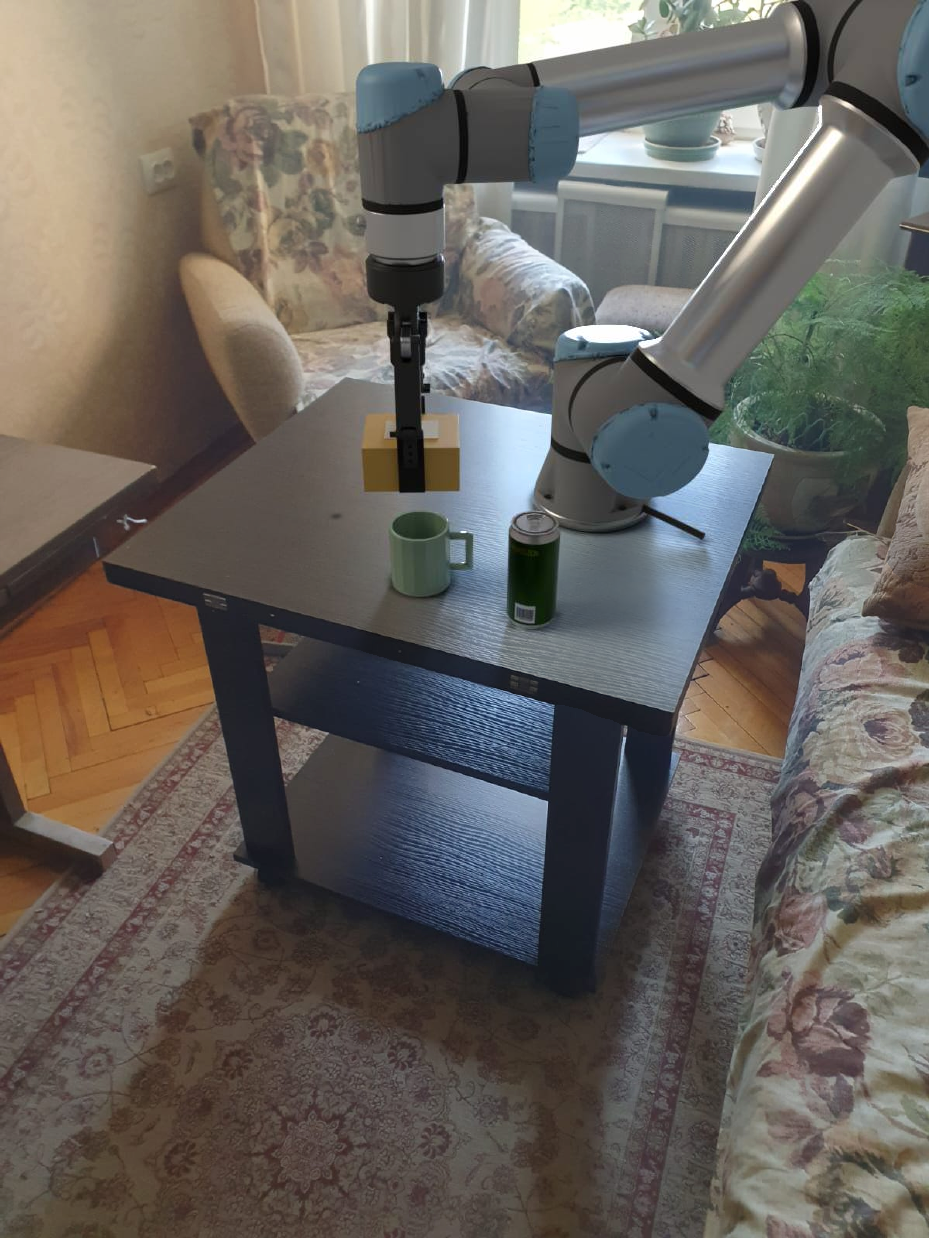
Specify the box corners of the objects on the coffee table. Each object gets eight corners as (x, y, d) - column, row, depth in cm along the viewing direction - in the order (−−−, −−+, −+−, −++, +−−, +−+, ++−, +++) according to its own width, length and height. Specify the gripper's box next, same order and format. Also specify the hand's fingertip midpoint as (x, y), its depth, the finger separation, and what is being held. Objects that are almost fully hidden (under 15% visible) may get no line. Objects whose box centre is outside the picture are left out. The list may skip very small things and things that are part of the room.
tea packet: (458, 455, 105) (458, 412, 102) (459, 491, 98) (459, 447, 95) (369, 455, 105) (366, 413, 102) (364, 492, 98) (361, 447, 95)
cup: (391, 598, 106) (387, 541, 102) (393, 565, 112) (389, 510, 107) (474, 596, 107) (474, 539, 102) (472, 563, 112) (472, 509, 108)
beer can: (552, 633, 101) (558, 538, 94) (503, 628, 101) (505, 533, 94) (557, 604, 105) (563, 511, 98) (509, 600, 106) (512, 507, 99)
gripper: (371, 226, 96) (383, 429, 110) (356, 289, 79) (372, 520, 93) (444, 225, 97) (447, 428, 110) (445, 288, 79) (448, 519, 93)
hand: (413, 470), depth 101 cm, fingers closed on tea packet, 8 cm apart
